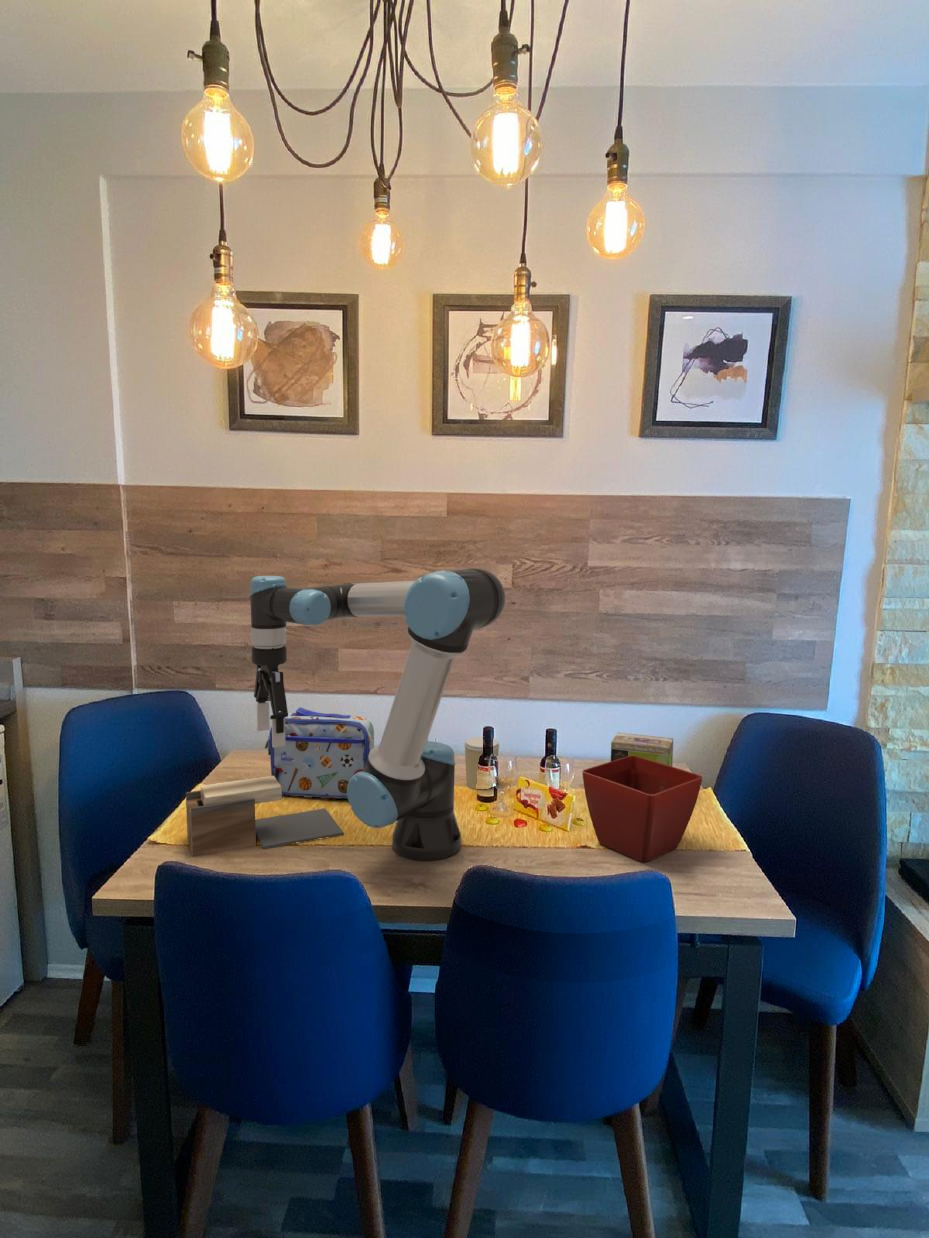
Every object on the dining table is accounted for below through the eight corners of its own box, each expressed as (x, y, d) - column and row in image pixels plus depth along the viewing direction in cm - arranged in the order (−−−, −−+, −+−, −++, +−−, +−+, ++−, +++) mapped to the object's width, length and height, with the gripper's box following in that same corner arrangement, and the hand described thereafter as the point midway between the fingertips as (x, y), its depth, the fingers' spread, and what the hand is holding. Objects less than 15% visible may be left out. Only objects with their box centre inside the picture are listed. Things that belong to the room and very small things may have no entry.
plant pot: (629, 820, 181) (633, 753, 179) (699, 848, 167) (704, 775, 165) (576, 842, 169) (579, 770, 167) (647, 874, 155) (652, 796, 152)
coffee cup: (504, 782, 205) (505, 740, 203) (487, 793, 197) (488, 749, 195) (474, 776, 209) (475, 734, 208) (457, 786, 201) (457, 743, 200)
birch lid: (281, 799, 167) (281, 786, 166) (205, 811, 160) (205, 797, 159) (274, 787, 174) (273, 775, 173) (200, 798, 166) (200, 785, 166)
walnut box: (255, 845, 164) (254, 799, 163) (192, 856, 159) (191, 808, 157) (247, 827, 173) (246, 783, 172) (187, 837, 167) (185, 792, 166)
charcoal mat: (343, 834, 170) (343, 832, 170) (262, 849, 163) (262, 846, 162) (325, 810, 184) (325, 808, 184) (249, 822, 176) (249, 820, 176)
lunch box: (261, 798, 191) (259, 713, 188) (275, 783, 201) (274, 703, 198) (368, 804, 188) (368, 718, 185) (377, 788, 199) (377, 707, 195)
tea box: (671, 791, 201) (674, 737, 199) (667, 804, 192) (670, 748, 190) (615, 782, 207) (617, 730, 205) (608, 795, 197) (610, 740, 195)
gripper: (302, 654, 159) (303, 751, 162) (271, 635, 180) (273, 721, 183) (266, 656, 155) (268, 756, 158) (239, 637, 177) (241, 725, 180)
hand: (270, 738), depth 171 cm, fingers open, 13 cm apart
